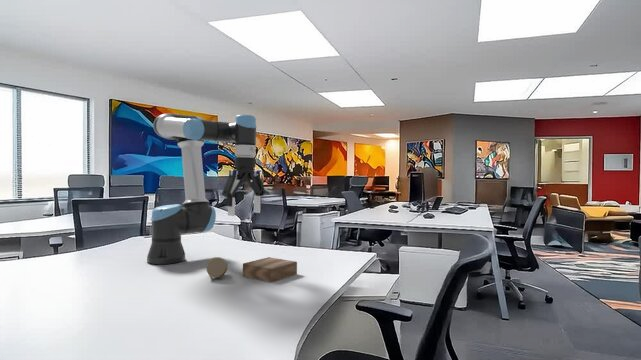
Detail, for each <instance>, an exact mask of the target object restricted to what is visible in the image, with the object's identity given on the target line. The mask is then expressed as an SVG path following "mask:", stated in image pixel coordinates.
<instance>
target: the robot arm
mask: <svg viewBox="0 0 641 360" xmlns="http://www.w3.org/2000/svg"><path fill="white" fill-rule="evenodd" d="M256 120H257V119H256V117H255V115H251V114H237V115H236V117H235V120H234V121H233V122H227V121H218V120H216V121H215V120H207V119H204V118H203V117H200V116H196V115H185V114H179V113H172V112H169V113H162V114H160V115H158V116H156V118H155V119H154V121H153V124H152V125H153V126H152V127H153V130H154V133H155V134H156V135H157V136H158V137H161V138H163V139H166V140H172V141H173V140H174V141H177V142H176V143H177V146H178V147H179V148H180V150H181V159H182V161H181V163H182V171H183V183H184V184H183V185H184V195H185V200H184V201H183V202H182V204H179V203H177V204H176V203H175V204H166V205H165V204H164V205H161V206H160V205H159V206H157V207H154V208H153V209H152V212H151V219H150V220H151V243H150V247H149V250H148V253H147V256H146V263H148V264H154V265H166V264H167V265H168V264H177V263H181V262H183V261H185V260H186V252H185V249H184V246H183V243H182V235H186V234H187V235H189V234H197V233H200V234H202V233H205V232H209V231H211V230H212V229H213V228H214V226H215V223H216V217H217V214H216V209H215V207H214V206H212V205H210V201H209V200H208V199H207V198H206V189H205V180H204V179H205V178H204V169H203V168H204V166H203V157H202V147H203V146H204V144H205V142H206V141H211V142H222V143H226V144H233V143H235V144H234V156H235V158H234V167H235V168H236V169H230V170H229V171H228V177H227V179H226V183H225V186H224V188H223V189H222V190H223V191H222V193H221V195H222V196H224V198H226V206H227V216H229V217H230V216H232V217H235V214H236V213H235V212H236V211H235V210H236V206H235V205H236V198H235V197H234V196H235V194H236V192H237V191H238V190H239V188H240V186H241V185H242V184H243V183H248V185H250V187H251V190H252V191H253V193H254V196H253V213H254V214H255V213H256V214H260V213H261V204H262V197H264V195H265V194H266V190H265V187H264V183H263V180H262V177H261V171H260V170H259V169H255V168H256V160H257V159H256V158H255V157H256V148H257V145H256V142H257V141H256V140H257V122H256Z"/></svg>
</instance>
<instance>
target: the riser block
mask: <svg viewBox="0 0 641 360" xmlns="http://www.w3.org/2000/svg"><path fill="white" fill-rule="evenodd" d="M297 274H298V261H294V260H289V259H282V258H277V257H269V256H268V257H264V258H259V259H256V260H251V261H247V262H244V263H242V277H244V278H249V279H254V280H259V281H264V282H267V283H268V282H269V283H273V282H278V281H280V280H283V279H287V278H289V277H292V276H296V275H297Z"/></svg>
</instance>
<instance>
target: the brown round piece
mask: <svg viewBox="0 0 641 360" xmlns="http://www.w3.org/2000/svg"><path fill="white" fill-rule="evenodd" d="M205 269H206V273H207V274H208V276H210V277H212V278H214V279H215V278H216V279H217V278H222V277H223V276H225V274H226V273H227V271H228V263H227V260H226V259H225V258H222V257H220V256H218V257H217V256H216V257H213V258H211V259H210V260H209V261H208V262H207V264H206V268H205Z"/></svg>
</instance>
